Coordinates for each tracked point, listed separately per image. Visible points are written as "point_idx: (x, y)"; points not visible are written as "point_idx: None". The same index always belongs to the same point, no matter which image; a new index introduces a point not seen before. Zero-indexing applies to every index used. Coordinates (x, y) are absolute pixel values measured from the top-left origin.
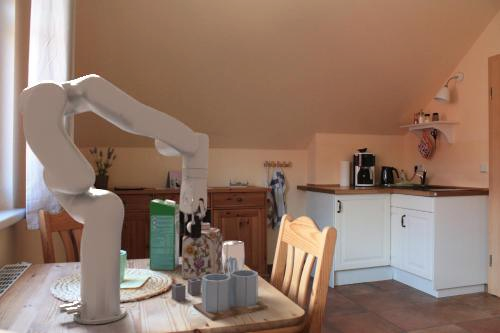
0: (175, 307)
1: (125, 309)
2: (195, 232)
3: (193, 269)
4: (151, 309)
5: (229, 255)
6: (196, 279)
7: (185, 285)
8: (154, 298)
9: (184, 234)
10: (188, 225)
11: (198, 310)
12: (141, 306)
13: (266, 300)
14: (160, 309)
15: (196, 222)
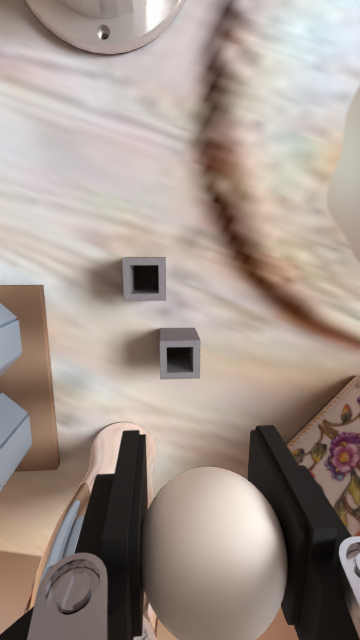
0: (69, 233)
1: (73, 34)
2: (94, 496)
3: (346, 423)
4: (86, 151)
5: (53, 547)
6: (188, 371)
7: (124, 300)
8: (195, 204)
9: (273, 428)
10: (199, 511)
11: (1, 285)
12: (133, 130)
13: (7, 499)
14: (72, 179)
15: (21, 623)
